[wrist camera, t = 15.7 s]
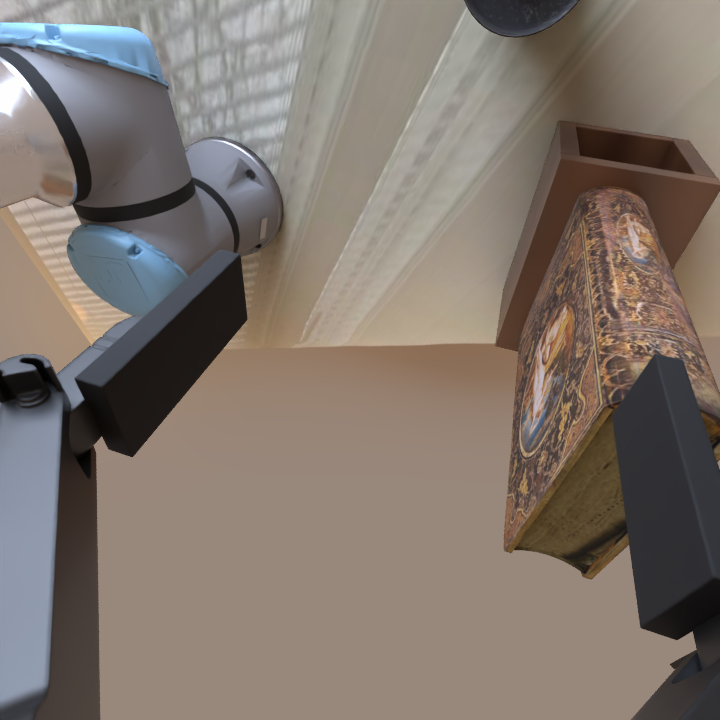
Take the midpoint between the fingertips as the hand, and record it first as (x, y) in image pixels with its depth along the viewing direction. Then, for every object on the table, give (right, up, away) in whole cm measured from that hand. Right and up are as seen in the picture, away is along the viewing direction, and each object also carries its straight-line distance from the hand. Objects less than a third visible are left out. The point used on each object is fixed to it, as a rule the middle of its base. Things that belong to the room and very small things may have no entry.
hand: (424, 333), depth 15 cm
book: (+18, +7, +28) cm, 34 cm away
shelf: (+23, +14, +36) cm, 45 cm away
